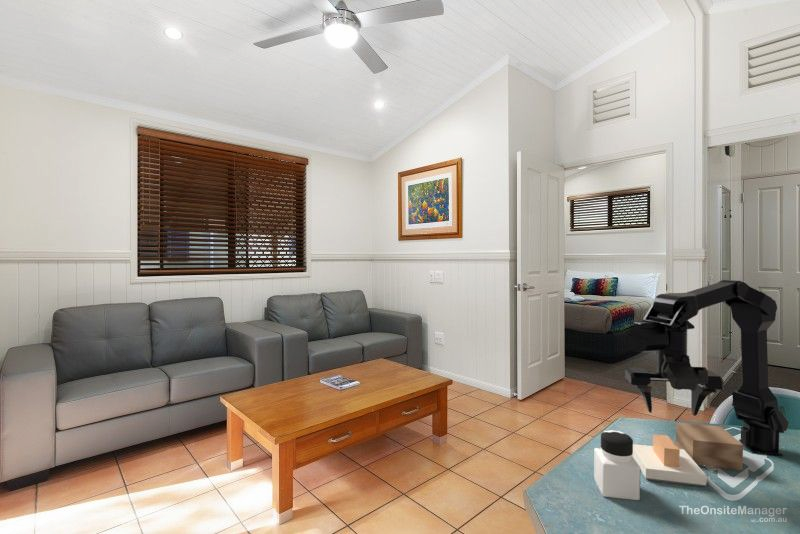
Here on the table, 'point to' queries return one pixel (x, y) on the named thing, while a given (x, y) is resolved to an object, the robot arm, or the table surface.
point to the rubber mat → (675, 482)
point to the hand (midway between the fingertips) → (671, 413)
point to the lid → (667, 462)
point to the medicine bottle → (617, 466)
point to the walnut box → (710, 445)
